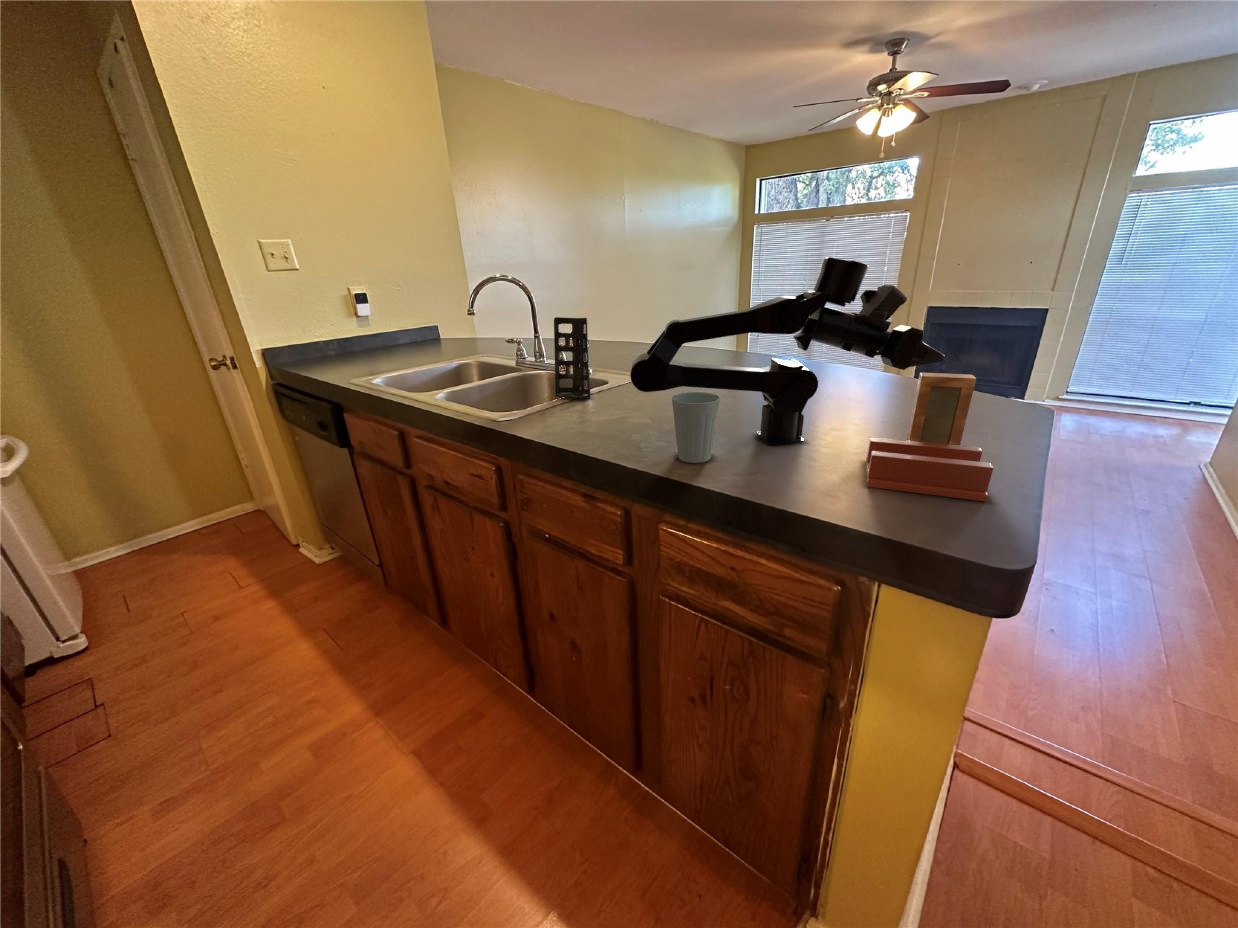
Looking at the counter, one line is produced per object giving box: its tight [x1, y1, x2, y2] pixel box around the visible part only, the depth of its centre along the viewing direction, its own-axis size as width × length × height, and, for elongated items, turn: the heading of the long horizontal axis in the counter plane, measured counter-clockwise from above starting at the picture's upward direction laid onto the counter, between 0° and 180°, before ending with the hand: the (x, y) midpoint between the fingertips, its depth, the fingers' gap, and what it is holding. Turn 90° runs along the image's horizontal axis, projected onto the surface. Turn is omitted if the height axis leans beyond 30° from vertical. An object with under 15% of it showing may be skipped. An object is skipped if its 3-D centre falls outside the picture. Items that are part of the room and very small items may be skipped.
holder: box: [553, 316, 592, 401], centre depth 122 cm, size 11×8×20 cm
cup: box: [671, 391, 721, 464], centre depth 79 cm, size 8×8×10 cm
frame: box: [906, 372, 977, 446], centre depth 76 cm, size 7×3×13 cm, turn 65°
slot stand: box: [865, 437, 994, 503], centre depth 68 cm, size 14×10×4 cm
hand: (927, 354), depth 81 cm, fingers open, 9 cm apart
